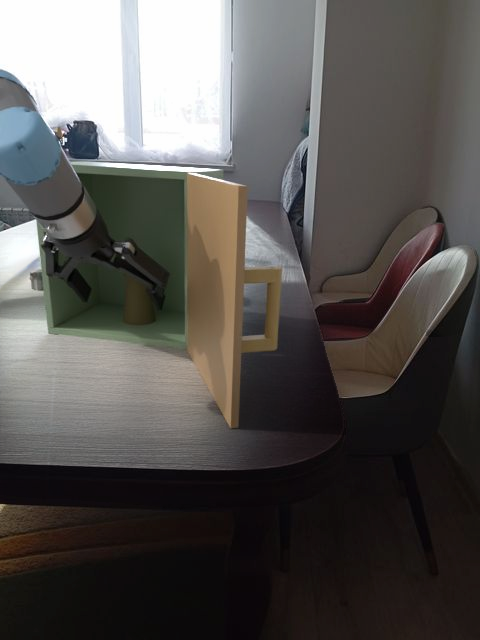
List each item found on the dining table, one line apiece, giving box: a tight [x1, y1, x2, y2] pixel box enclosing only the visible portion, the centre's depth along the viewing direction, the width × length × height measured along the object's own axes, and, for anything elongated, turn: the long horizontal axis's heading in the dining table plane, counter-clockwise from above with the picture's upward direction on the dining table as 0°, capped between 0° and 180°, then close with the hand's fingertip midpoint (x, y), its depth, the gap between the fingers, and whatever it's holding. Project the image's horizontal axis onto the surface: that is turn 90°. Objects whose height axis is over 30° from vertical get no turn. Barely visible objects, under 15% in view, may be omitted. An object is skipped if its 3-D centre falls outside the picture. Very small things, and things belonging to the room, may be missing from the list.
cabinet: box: [35, 161, 224, 350], centre depth 91 cm, size 18×26×28 cm
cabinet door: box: [186, 173, 283, 429], centre depth 70 cm, size 6×26×28 cm, turn 19°
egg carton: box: [29, 268, 44, 291], centre depth 120 cm, size 11×8×4 cm
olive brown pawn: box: [123, 273, 156, 325], centre depth 94 cm, size 6×6×11 cm
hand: (124, 299), depth 89 cm, fingers open, 13 cm apart
